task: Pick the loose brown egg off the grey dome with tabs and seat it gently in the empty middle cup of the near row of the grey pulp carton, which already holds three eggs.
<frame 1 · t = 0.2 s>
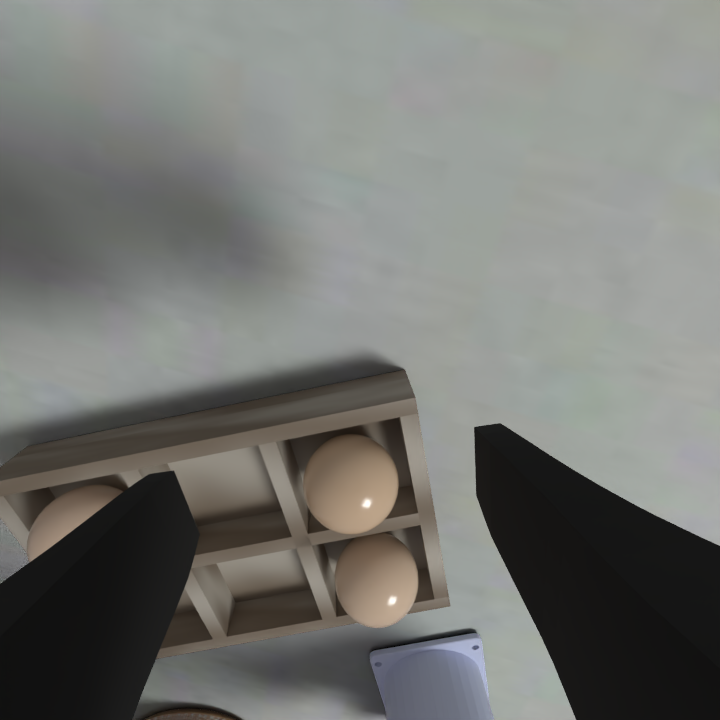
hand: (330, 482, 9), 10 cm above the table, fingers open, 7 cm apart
egg b: (350, 453, 20), point 1 cm above the table, touching carton
egg c: (113, 499, 20), point 1 cm above the table, touching carton
egg a: (373, 542, 22), point 1 cm above the table, touching carton
carton: (253, 509, 22), on the table
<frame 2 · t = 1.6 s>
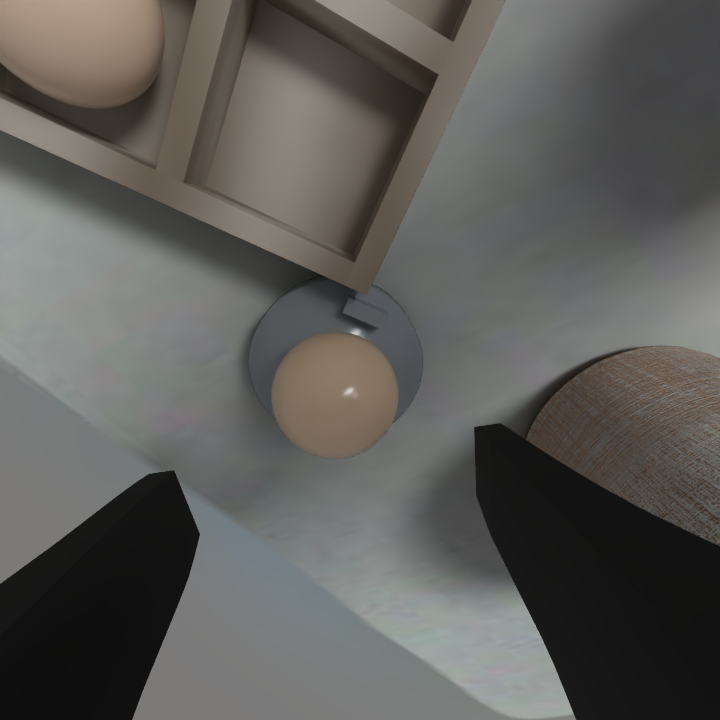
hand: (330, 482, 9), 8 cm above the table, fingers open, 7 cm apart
egg loose: (336, 369, 15), point 1 cm above the table, touching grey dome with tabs
egg c: (114, 38, 12), point 1 cm above the table, touching carton
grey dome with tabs: (337, 355, 17), on the table
planter: (618, 439, 19), on the table
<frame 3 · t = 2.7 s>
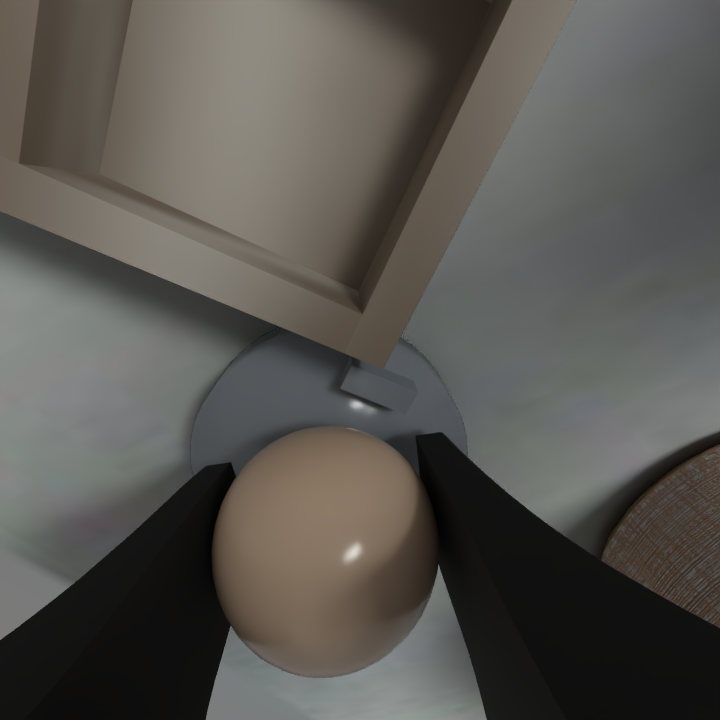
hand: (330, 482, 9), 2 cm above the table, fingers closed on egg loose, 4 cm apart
egg loose: (331, 466, 10), point 1 cm above the table, touching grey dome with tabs, gripper
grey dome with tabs: (332, 434, 11), on the table
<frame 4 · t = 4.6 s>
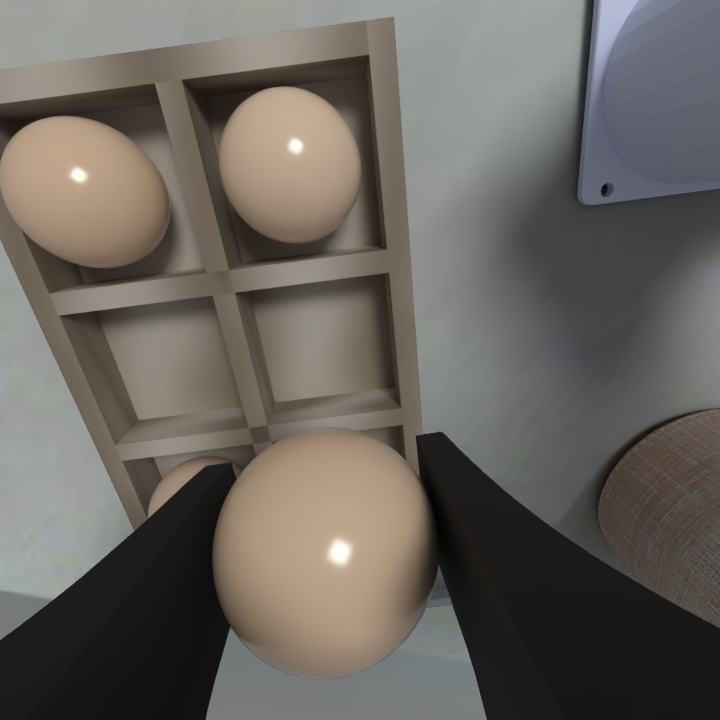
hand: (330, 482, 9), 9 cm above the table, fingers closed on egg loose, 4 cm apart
egg loose: (331, 467, 10), point 9 cm above the table, touching gripper
egg b: (129, 198, 14), point 1 cm above the table, touching carton
egg c: (218, 474, 19), point 1 cm above the table, touching carton
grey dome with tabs: (428, 537, 23), on the table
planter: (681, 482, 22), on the table
egg a: (299, 176, 14), point 1 cm above the table, touching carton
carton: (257, 339, 18), on the table
when the fingers open (3 cm above the table, at t = 6.3 s): egg loose drops 2 cm, resting on carton.
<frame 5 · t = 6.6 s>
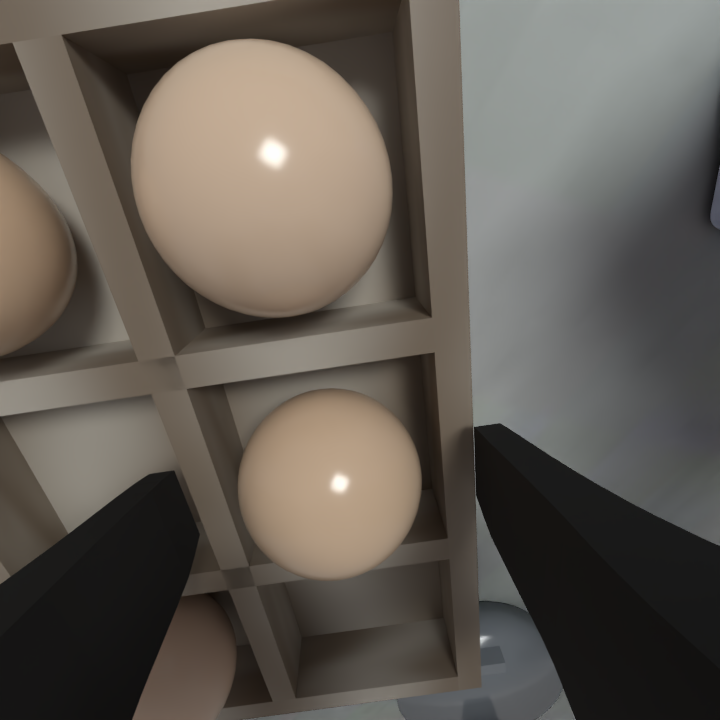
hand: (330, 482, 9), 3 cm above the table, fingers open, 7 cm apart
egg loose: (333, 428, 11), point 1 cm above the table, touching carton
egg b: (22, 239, 9), point 1 cm above the table, touching carton
egg c: (189, 601, 14), point 1 cm above the table, touching carton
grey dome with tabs: (469, 654, 17), on the table
egg a: (287, 198, 9), point 1 cm above the table, touching carton
carton: (236, 425, 12), on the table
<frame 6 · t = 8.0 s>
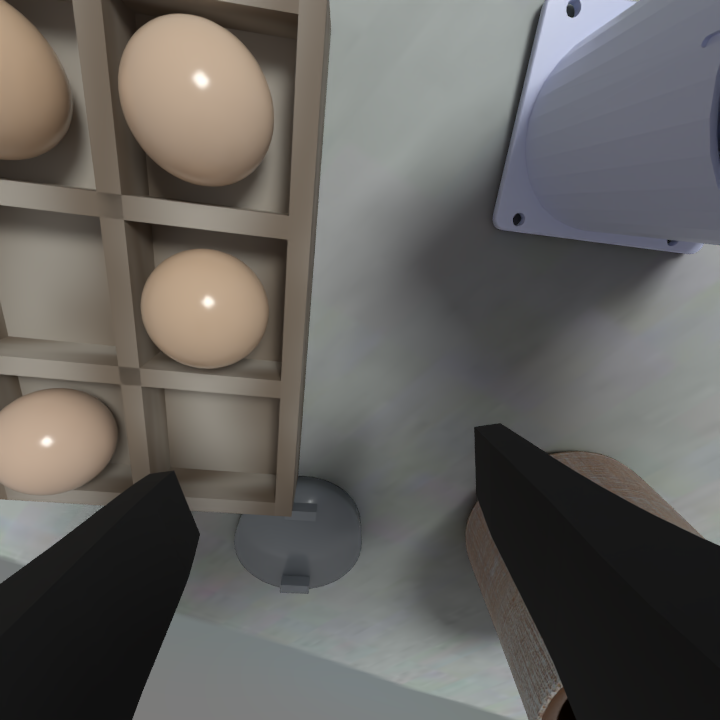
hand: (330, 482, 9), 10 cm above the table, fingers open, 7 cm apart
egg loose: (224, 296, 16), point 1 cm above the table, touching carton
egg b: (35, 96, 13), point 1 cm above the table, touching carton
egg c: (88, 413, 18), point 1 cm above the table, touching carton
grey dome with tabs: (301, 524, 23), on the table
planter: (548, 516, 23), on the table
egg a: (222, 123, 14), point 1 cm above the table, touching carton
carton: (157, 282, 17), on the table
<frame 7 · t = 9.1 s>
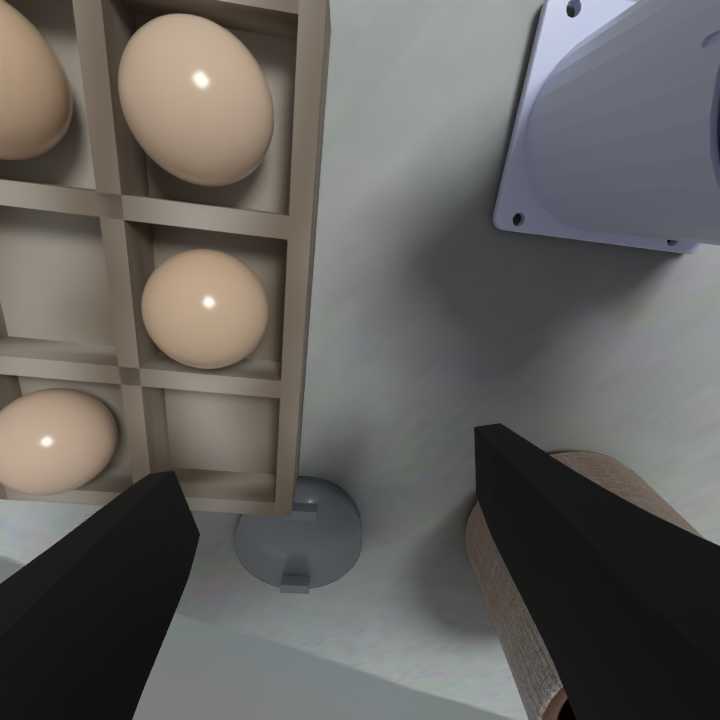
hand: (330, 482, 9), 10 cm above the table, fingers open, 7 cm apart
egg loose: (224, 296, 16), point 1 cm above the table, touching carton
egg b: (35, 96, 13), point 1 cm above the table, touching carton
egg c: (88, 413, 18), point 1 cm above the table, touching carton
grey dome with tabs: (301, 524, 23), on the table
planter: (548, 516, 23), on the table
egg a: (222, 122, 14), point 1 cm above the table, touching carton
carton: (157, 282, 17), on the table
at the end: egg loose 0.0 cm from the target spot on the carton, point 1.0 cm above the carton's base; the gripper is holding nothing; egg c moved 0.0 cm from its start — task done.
